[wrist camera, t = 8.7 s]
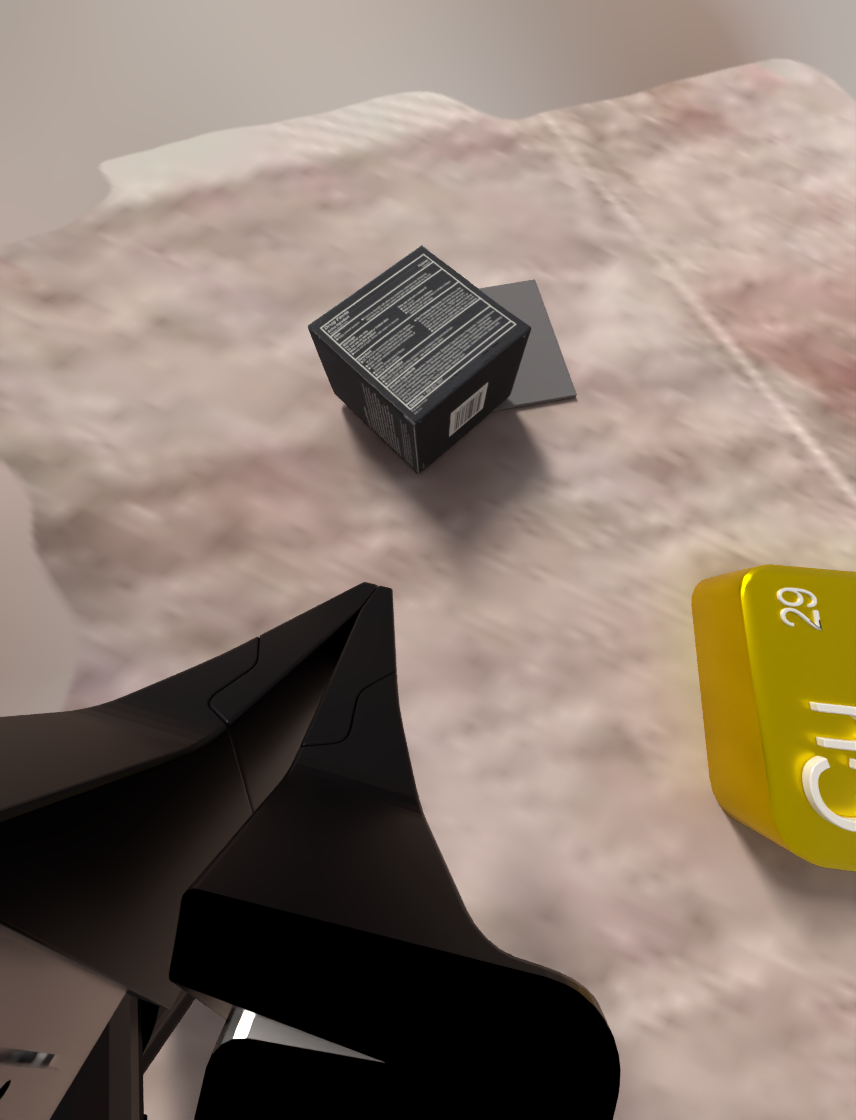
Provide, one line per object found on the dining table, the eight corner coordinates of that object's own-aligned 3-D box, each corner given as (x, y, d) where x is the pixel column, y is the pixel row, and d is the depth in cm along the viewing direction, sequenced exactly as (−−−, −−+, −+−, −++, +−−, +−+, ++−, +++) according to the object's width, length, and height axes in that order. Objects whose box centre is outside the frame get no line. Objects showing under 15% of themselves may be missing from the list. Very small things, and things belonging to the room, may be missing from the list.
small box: (511, 399, 27) (426, 326, 28) (537, 325, 20) (424, 236, 22) (417, 479, 25) (332, 395, 27) (412, 424, 19) (302, 320, 20)
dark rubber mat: (575, 397, 27) (576, 394, 26) (384, 430, 26) (384, 427, 26) (533, 283, 30) (534, 279, 30) (364, 310, 30) (364, 307, 29)
